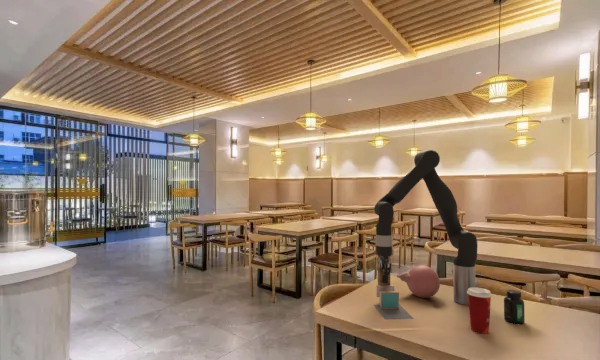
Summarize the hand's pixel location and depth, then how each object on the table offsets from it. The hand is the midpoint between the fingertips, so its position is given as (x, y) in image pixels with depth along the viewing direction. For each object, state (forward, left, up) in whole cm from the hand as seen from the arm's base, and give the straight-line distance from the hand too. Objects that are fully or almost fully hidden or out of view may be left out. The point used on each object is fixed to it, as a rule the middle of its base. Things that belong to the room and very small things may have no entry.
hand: (384, 281), depth 147 cm
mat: (0, +11, -10) cm, 15 cm away
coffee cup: (-27, +29, -10) cm, 41 cm away
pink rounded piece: (-20, -9, -10) cm, 24 cm away
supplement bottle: (-46, +22, -10) cm, 52 cm away
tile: (0, +7, -9) cm, 12 cm away
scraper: (0, 0, -6) cm, 6 cm away
